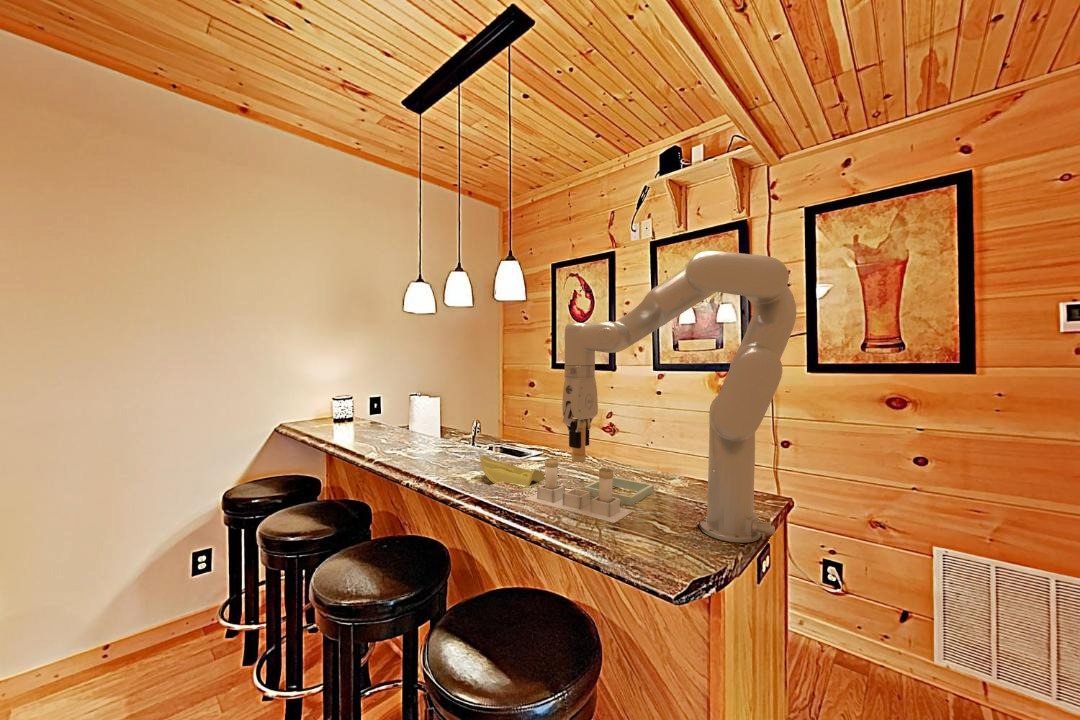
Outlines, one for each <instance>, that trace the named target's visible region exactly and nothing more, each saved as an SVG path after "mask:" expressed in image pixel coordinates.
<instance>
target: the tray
mask: <svg viewBox="0 0 1080 720" xmlns="http://www.w3.org/2000/svg"><path fill="white" fill-rule="evenodd" d="M613 487H615V488H620V489H625V490H630V491H634V492H635V491H636V492H635V493H633V494H631V495H626V494H621V493H618V492H613V491H612V497H614V498H619V499H620V505H621V504H622V505H627V506H630V507H631V506H634V505H635V504H637V503H638V502H640V501H642V500H644V499H645V498H647V497H648V496H650V495H654V493H655V492H654V491H655V490H654V489H655V485H654V484H651V483H645V482H642V481H641V482H640V481H635V480H630V479H626V478H622V477H616V476H613ZM582 490H584V491H588V492H592V493H591V498H595V497H597V496H599V479H598V480H596V481H593V482H591V483H589V484H587V485H584V486H583V489H582Z"/></svg>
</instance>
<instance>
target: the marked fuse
mask: <svg viewBox="0 0 1080 720" xmlns="http://www.w3.org/2000/svg"><path fill="white" fill-rule="evenodd" d="M573 422H574V423H575V425H576V422H575V421H573ZM579 432H581V448H572V453H571V461H572V462H575V463H583V462H586V459H587V456H586V455H587V454H586V446H585V444H586V420H580V431H579Z"/></svg>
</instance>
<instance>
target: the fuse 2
mask: <svg viewBox="0 0 1080 720" xmlns="http://www.w3.org/2000/svg"><path fill="white" fill-rule="evenodd" d="M613 477H614V469H611V468H600V469H599V470H598V480H599V501H602V502H606V503H610V502H612V492H613V487H614V486H613Z"/></svg>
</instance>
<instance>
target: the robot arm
mask: <svg viewBox="0 0 1080 720" xmlns="http://www.w3.org/2000/svg"><path fill="white" fill-rule="evenodd" d="M789 280H790V274H789V270H788V268H787V266H786V265H785V263H784V262H782V261H781V260H779V259H778V258H775V257H773V256H769V255H762V254H761V255H759V254H750V253H749V254H748V253H743V252H742V253H741V252H731V251H721V250H712V249H711V250H703V251H700V252H698V253H695V254H694V255H693V256H692V257H691V258H690V260H689V261H688V263H687V265H686V267H684V268H683V269H681V270H679V271H678V272H677V273H675V274H673V275H672V276H671V277H669V278H667V279H666V280H664V281H662V282H661V283H660V284H658V285H656V286H655V287H653V288H652V289H650V290H649V292H647V294H646V295H645V296H644V297H643V300H642V301H641V302H639V304H638V305H637V306H636V307H635V308H633V309H632V310H631V311H630V312H628V313H626V314H625V315H623V316H622V317H620V318H619V319H617V320H615V321H607V320H606V321H599V322H592V323H590V322H589V323H588V322H571V323H567V324H566V325H565V328H564V383H563V390H562V407H561V408H562V410H561V411H562V416H563V418H562V423H563V424H564V425H565V426H566V427H567V431H568V447H569V448H572V449H573V448H581V432H579V431H580V420H586V444H585V447H588V446H590V430H591V423H592V421H593V420H594V418H595V417H597V416H598V412H599V410H598V409H599V404H598V401H599V400H598V399H599V398H598V387H597V382H596V371H595V370H596V366H595V365H596V352H600V353H606V354H607V353H608V354H614V353H619V352H620V353H621V352H622V351H625V350H626V349H627V348H630V347H631V346H633V345H634V344H636V343H637V342H639V341H640V340H642V339H644V338H646V337H647V336H649V335H650V334H652V333H653V332H655V331H656V330H658V329H660V328H662V327H663V326H665V325H667V324H668V323H669V322H671V321H673V320H674V319H676V318H677V317H679V316H680V315H682V314H683V313H685V312H686V311H688V310H690V309H691V308H693V307H694V306H696V305H698V304H700V303H701V302H703V301H704V300H707V299H709V298H710V297H711V296H712V295H714V294H716V293H721V294H728V295H734V296H742V297H745V298H746V299H747V301H749V302H750V305H751V307H752V314H751V319H750V321H749V323H748V326H747V328H746V332H745V334H744V336H743V338H742V340H741V343H740V344H739V347H738V348H737V351H736V352H735V353H734V356H732V358H731V361H730V363H729V364H730V366H729V370H728V372H727V374H726V377H725V379H724V381H723V383H722V384H721V387H720V390H719V391H718V394H717V396H715V397H714V398H713V400H712V401H711V404H710V406H709V410H708V411H709V417H708V418H709V421H708V425H709V430H708V431H709V432H708V433H709V439H708V440H709V441H708V466H707V467H708V468H707V469H708V471H707V473H708V474H707V476H708V477H707V478H708V479H707V512H706V515H707V516H706V518H702V519H701V520H700V521H699V529H700V530H701V531H702V533H704V534H705V535H707V536H709V537H711V538H713V539H716V540H720V541H723V542H730V543H737V544H738V543H740V544H741V543H742V544H744V543H745V544H746V543H752V542H756V541H758V540H759V539H760V538H761V533H763V534H765V535H767V536H768V535H769V536H775V532H776V526H774V525H772V524H771V522H768V521H761V520H760V519H758V517H757V516H758V513H756V512H754V504H755V503H754V502H755V501H754V498H755V496H754V495H755V465H756V432H757V430H759V427H760V426H761V423H762V422H763V420H764V418H765V415H766V414H767V411H768V409H769V407H770V404H771V402H772V400H773V398H774V396H775V394H776V392H777V389H778V387H779V385H780V383H781V379H782V377H783V376H782V375H783V364H782V363H783V362H782V360H781V359H782V356H783V355H784V351H785V350H786V348H787V344H788V342H789V341H790V340H789V339H790V338H791V335H792V333H793V330H794V327H795V323H796V321H797V320H796V319H797V304H796V300H795V298H794V295H793V292H792V290H791V289H790V288H789V286H788V284H789ZM573 421H575V422H576V425H575V423H574V422H573Z"/></svg>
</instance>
